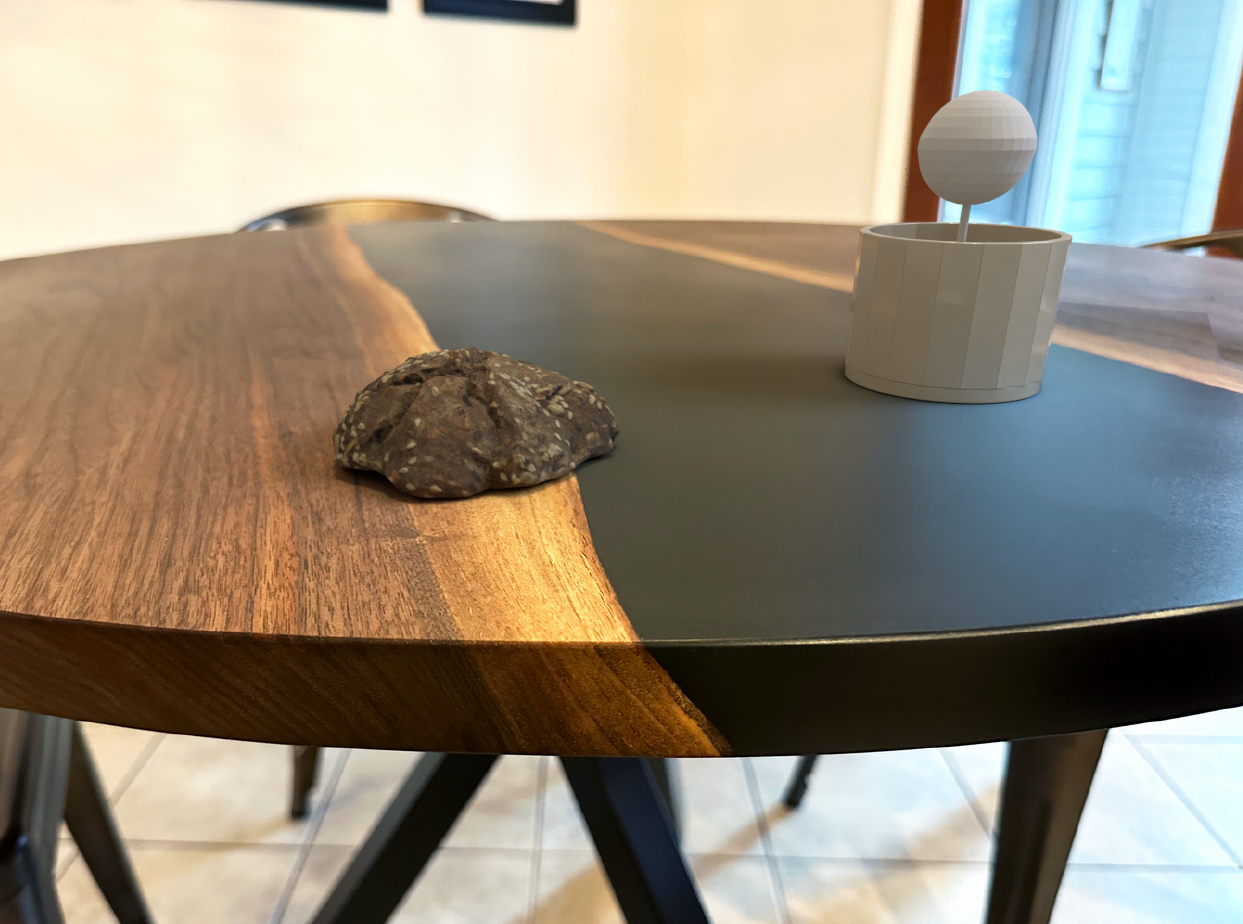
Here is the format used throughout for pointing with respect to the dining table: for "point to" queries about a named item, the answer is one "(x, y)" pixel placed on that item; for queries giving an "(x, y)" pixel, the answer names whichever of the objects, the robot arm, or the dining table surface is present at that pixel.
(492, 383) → the bread roll
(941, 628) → the dining table surface
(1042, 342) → the white plant pot
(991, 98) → the lollipop
